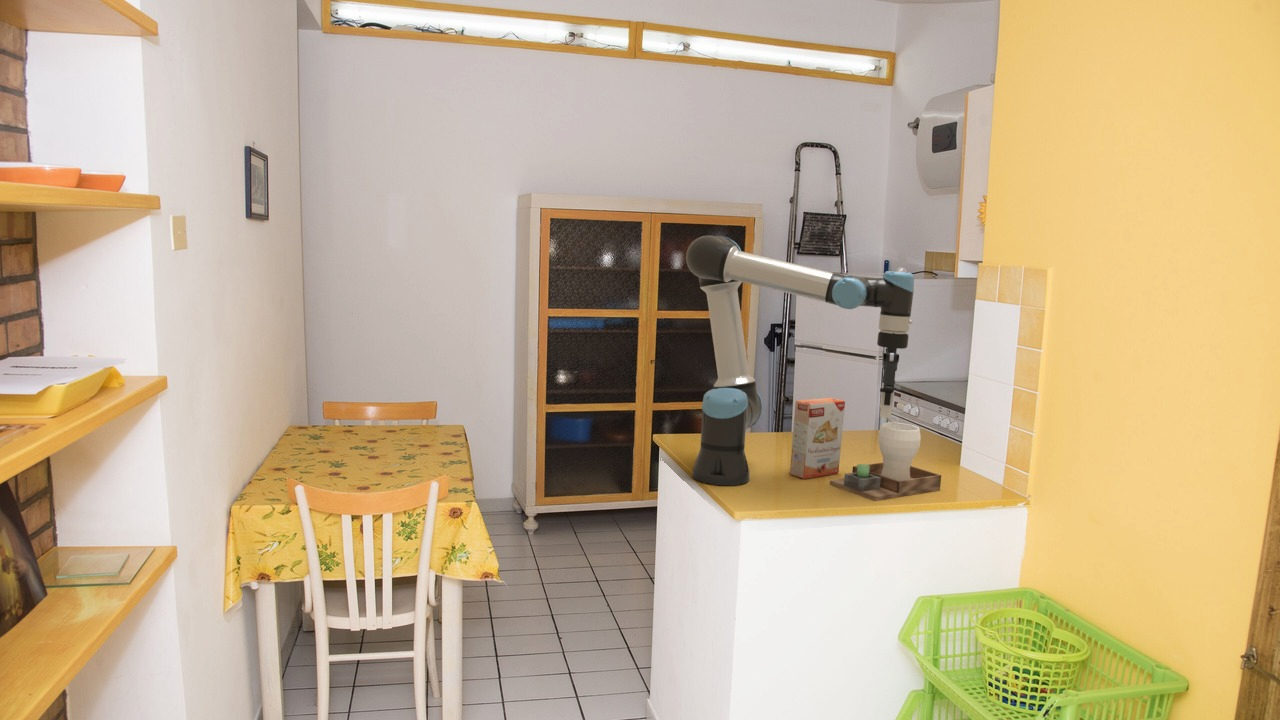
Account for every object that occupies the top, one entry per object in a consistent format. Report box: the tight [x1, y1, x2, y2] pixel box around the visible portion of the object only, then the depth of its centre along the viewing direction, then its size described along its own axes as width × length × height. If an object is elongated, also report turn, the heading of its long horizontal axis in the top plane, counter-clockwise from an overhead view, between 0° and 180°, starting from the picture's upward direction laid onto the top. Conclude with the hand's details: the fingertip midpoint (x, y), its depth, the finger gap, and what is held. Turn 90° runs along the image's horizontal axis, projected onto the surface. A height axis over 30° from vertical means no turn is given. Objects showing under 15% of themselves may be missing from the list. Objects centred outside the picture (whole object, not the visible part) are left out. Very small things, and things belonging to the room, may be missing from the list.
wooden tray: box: [829, 462, 942, 502], centre depth 224 cm, size 24×16×4 cm, turn 121°
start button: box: [856, 463, 869, 478], centre depth 219 cm, size 3×3×4 cm
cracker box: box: [789, 397, 846, 480], centre depth 232 cm, size 14×6×21 cm, turn 125°
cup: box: [877, 421, 922, 481], centre depth 225 cm, size 11×11×15 cm
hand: (885, 412), depth 221 cm, fingers open, 13 cm apart
